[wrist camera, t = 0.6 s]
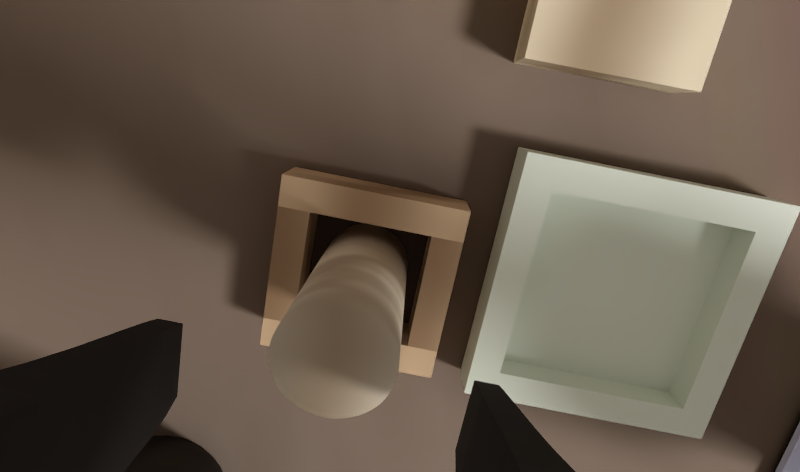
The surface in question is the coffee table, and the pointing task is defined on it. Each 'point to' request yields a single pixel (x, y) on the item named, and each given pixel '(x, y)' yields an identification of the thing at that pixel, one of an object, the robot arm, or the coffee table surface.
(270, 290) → the socket block
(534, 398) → the tray
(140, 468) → the mug
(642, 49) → the beige rectangular box
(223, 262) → the coffee table surface
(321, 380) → the dowel
